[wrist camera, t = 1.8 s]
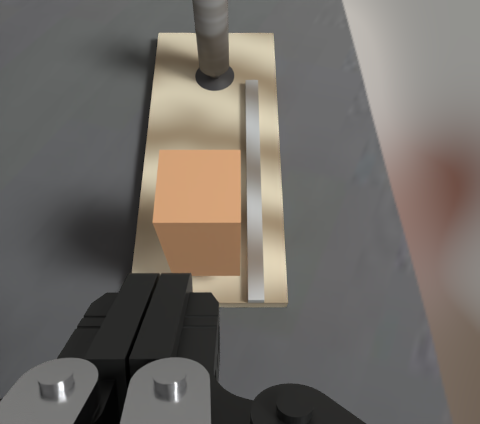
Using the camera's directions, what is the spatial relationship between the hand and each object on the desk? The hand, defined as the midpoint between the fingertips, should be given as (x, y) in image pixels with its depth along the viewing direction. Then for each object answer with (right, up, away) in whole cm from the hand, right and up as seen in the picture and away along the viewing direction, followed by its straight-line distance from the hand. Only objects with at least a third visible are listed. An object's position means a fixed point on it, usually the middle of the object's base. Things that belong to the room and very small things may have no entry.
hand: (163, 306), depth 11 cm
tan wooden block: (0, 0, +18) cm, 18 cm away
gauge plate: (0, +7, +23) cm, 24 cm away
